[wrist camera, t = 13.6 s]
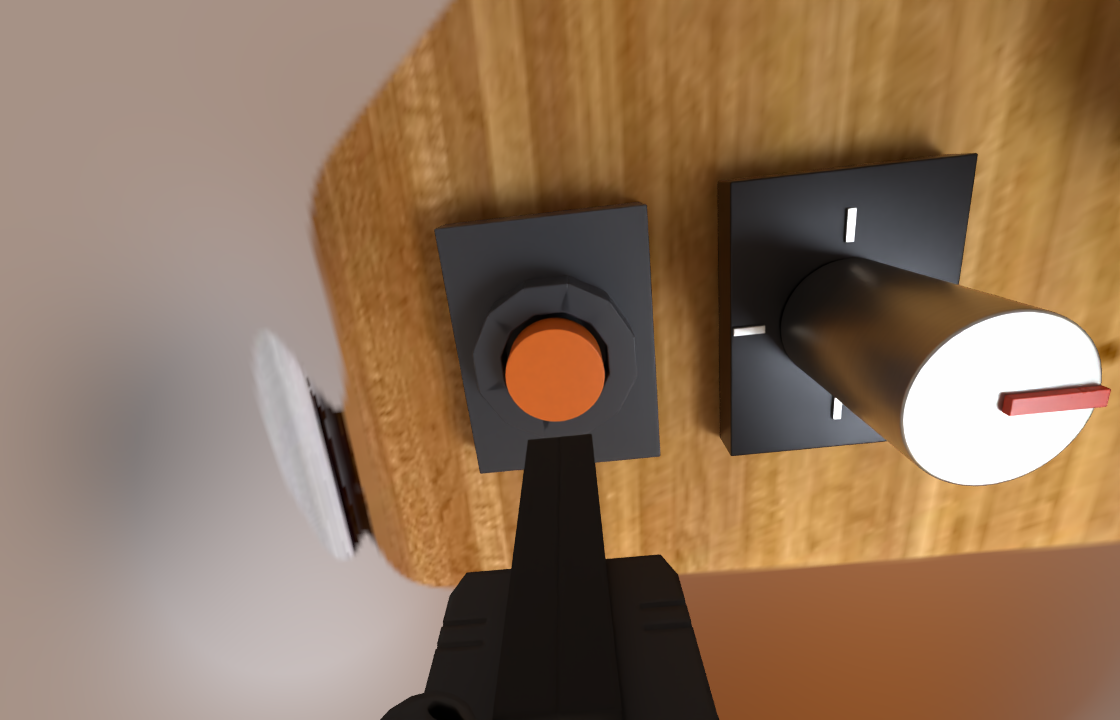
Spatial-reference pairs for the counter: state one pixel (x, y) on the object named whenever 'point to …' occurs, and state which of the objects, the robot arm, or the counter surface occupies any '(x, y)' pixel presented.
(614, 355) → the button block
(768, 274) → the dial panel
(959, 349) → the knob
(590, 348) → the button
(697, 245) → the counter surface
